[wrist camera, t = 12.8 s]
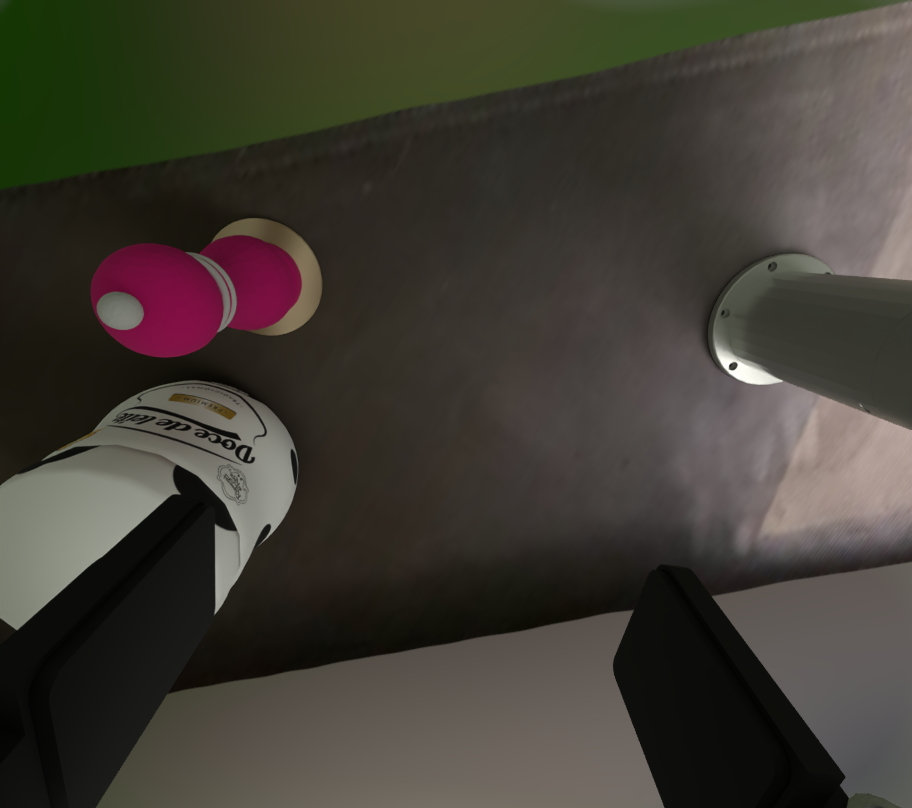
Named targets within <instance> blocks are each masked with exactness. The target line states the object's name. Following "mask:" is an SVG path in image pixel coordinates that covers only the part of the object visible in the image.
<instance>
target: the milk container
mask: <svg viewBox="0 0 912 808" xmlns="http://www.w3.org/2000/svg"><path fill="white" fill-rule="evenodd" d="M297 478H298V459H297V454H296V450H295V447H294V444H293V441H292V439H291V437H290V435H289V433H288V431H287V429H286V428H285V426H284V425H283V424H282V422H281V421H280V420H279V419H278V417H277V416H276V415H275V414H274V413H273V412H272V411H271V410H270V409H269V408H268V407H267V406H266V405H264V404H263V403H262V402H260V401H259V400H257V399H256V398H254V397H252V396H251V395H249V394H247V393H245V392H244V391H242V390H239V389H237V388H234V387H231V386H228V385H225V384H221V383H217V382H211V381H201V380H190V381H181V382H175V383H169V384H165V385H161V386H157V387H154V388H151V389H148V390H146V391H143V392H141V393H139V394H137V395H135V396H133V397H131V398H129V399H127V400H126V401H124V402H123V403H121V404H120V405H118V406H117V407H116V408H115V409H113V410H112V411H111V412H110V413H109V414H108V415H107V416H106V417H105V418H104V419H103V420H102V421H101V422H100V423H99V425H98V426H97V427H96V428H95V429H94V431H93V432H92V433H90V434H88V435H86V436H84V437H82V438H80V439H78V440H76V441H74V442H72V443H70V444H68V445H66V446H64V447H62V448H60V449H58V450H56V451H55V452H53V453H52V454H50V455H48V456H47V457H46V458H45V459H43V460H42V461H40V462H38V463H35V464H33V465H31V466H29V467H27V468H25V469H23V470H22V471H20V472H19V473H17V474H16V475H14V476H13V477H12V478H10V479H9V480H7V481H6V482H4V483H3V484H2V485H1V486H0V618H1V619H3V620H4V621H5V622H7V623H8V624H9V625H11V626H12V627H13V628H15V629H16V630H18V629H19V628H20V627H21V626H22V625H24V624H25V623H26V622H27V621H28V620H29V619H30V618H31V617H33V616H34V615H35V614H36V613H37V612H38V611H39V610H40V609H42V608H43V607H44V606H45V605H46V604H47V603H48V602H49V601H50V600H52V599H53V598H54V597H55V596H56V595H57V594H58V593H59V592H61V591H62V590H63V589H64V588H65V587H66V586H67V585H68V584H70V583H71V582H72V581H73V580H74V579H75V578H76V577H77V576H79V575H80V574H81V573H82V572H83V571H84V570H85V569H86V568H88V567H89V566H90V565H91V564H92V563H94V562H95V561H96V560H98V559H99V558H101V557H102V556H104V555H105V554H106V553H107V552H108V551H109V550H110V549H111V548H113V547H114V546H115V545H116V544H117V543H118V542H119V541H120V540H121V539H123V538H124V537H125V536H126V535H127V534H128V533H129V532H130V531H131V530H133V529H134V528H135V527H136V526H137V525H138V524H139V523H140V522H141V521H143V520H144V519H145V518H146V517H147V516H148V515H149V514H150V513H152V512H153V511H154V510H155V509H156V508H157V507H158V506H159V505H160V504H162V503H163V502H164V501H165V500H166V499H167V498H168V497H170V496H171V495H173V494H180V495H187V496H194V497H201V498H204V499H206V501H207V505H208V506H211V507H213V508H214V510H215V593H216V607H215V614H216V612H217V611H218V610H219V608H220V607H221V606H222V604H223V602H224V600H225V599H226V597H227V594H228V592H229V590H230V588H231V587H232V586H233V585H234V583H235V582H236V580H237V579H238V577H239V575H240V573H241V572H242V570H243V568H244V566H245V564H246V562H247V560H248V558H249V556H250V555H251V553H252V551H253V550H254V549H255V548H256V547H257V546H259V545H260V544H261V543H262V542H263V541H265V540H266V539H267V538H268V537H269V536H270V535H271V534H272V533H273V532H274V530H275V529H276V528H277V527H278V525H279V524H280V523H281V521H282V520H283V518H284V517H285V515H286V513H287V511H288V509H289V507H290V505H291V502H292V499H293V496H294V493H295V489H296V484H297ZM215 614H214V615H215Z"/></svg>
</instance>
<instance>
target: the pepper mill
mask: <svg viewBox="0 0 912 808" xmlns="http://www.w3.org/2000/svg"><path fill="white" fill-rule="evenodd" d="M301 289H302V278H301V274H300V271H299V268H298V266H297V264H296V263H295V261H294V259H293V258H292V257H291V256H290V255H289V254H288V253H287V252H286V251H284V250H283V249H282V248H280V247H278V246H276V245H274V244H271V243H267V242H265V241H263V240H261V239H258V238H255V237H252V236H247V235H233V236H227V237H223V238H220V239H217V240H215V241H213V242H212V243H210V244H209V245H208V246H206V247H205V248H204V249H203V250H202V251H201V252H200V253H199V254H196V253H190V252H183V251H182V250H180V249H177V248H174V247H171V246H167V245H161V244H152V243H146V244H136V245H132V246H128V247H125V248H122V249H120V250H118V251H116V252H114V253H112V254H111V255H110V256H109V257H107V258H106V259H105V260H103V262H102V263H101V265H100V266H99V268H98V269H97V271H96V272H95V274H94V276H93V279H92V282H91V301H92V305H93V308H94V311H95V314H96V316H97V318H98V320H99V322H100V323H101V324H102V326H103V327H104V328H105V330H106V331H107V332H108V333H109V334H110V335H111V336H112V337H113V338H114V339H115V340H117V341H118V342H119V343H121V344H122V345H124V346H125V347H127V348H129V349H131V350H133V351H135V352H138V353H141V354H144V355H148V356H154V357H164V358H167V357H177V356H182V355H186V354H189V353H192V352H194V351H197V350H199V349H200V348H202V347H203V346H205V345H206V344H207V343H208V342H209V341H210V340H212V339H213V338H214V336H215V335H216V333H217V332H219V331H221V330H222V329H224V328H225V327H226V326H227V327H230V328H234V329H240V330H258V329H262V328H266V327H269V326H271V325H274V324H275V323H277V322H279V321H280V320H281V319H282V318H283V317H284V316H285V315H286V314H287V312H288V311H289V310H290V309H291V308H292V307H293V306H294V305H295V304H296V302H297V301H298V299H299V297H300V294H301Z"/></svg>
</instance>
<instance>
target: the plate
mask: <svg viewBox="0 0 912 808" xmlns="http://www.w3.org/2000/svg"><path fill="white" fill-rule="evenodd" d="M233 235H247V236H252V237H255V238H258V239H261V240H263V241H265V242H267V243H271V244H274V245H276V246H278V247H280V248H282V249H283V250H284V251H286V252H287V253H288V254H289V255H290V256H291V257H292V258H293V259H294V261H295V263H296V264H297V266H298V268H299V271H300V274H301V278H302V289H301V294H300V297H299V299H298V301H297V302H296V304H295V305H294V306H293V307H292V308H291V309H290V310H289V311H288V312H287V314H286V315H285V316H284V317H283V318H282V319H281V320H280V321H279V322H277V323H275V324H274V325H271V326H269V327H266V328H262V329H258V330H247V331H250V332H253V333H256V334H261V335H281V334H285V333H288V332H291V331H293V330H295V329H297V328H299V327H300V326H302V325H303V324H305V323H306V322H307V321H308V320H309V319H310V318H311V317H312V315H313V314H314V313H315V311H316V309H317V307H318V305H319V303H320V299H321V296H322V273H321V269H320V266H319V263H318V261H317V258H316V256H315V254H314V253H313V251H312V249H311V248H310V246H309V245H308V244H307V243H306V242H305V240H304V239H303V238H302V237H301V236H299V235H298V234H297V233H296V232H295V231H293V230H292V229H290V228H289V227H287V226H285V225H283V224H280V223H278V222H275V221H271V220H267V219H259V218H249V219H243V220H239V221H236V222H233V223H231V224H229V225H228V226H226V227H225V228H223V229H222V230H221V231H220V232H219V233H218V234H217V235H216V236H215V238H214V239H213V240H212V242H213V241H215V240H217V239H220V238H223V237H227V236H233ZM212 242H211V243H212Z"/></svg>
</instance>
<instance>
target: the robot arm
mask: <svg viewBox="0 0 912 808" xmlns="http://www.w3.org/2000/svg"><path fill="white" fill-rule="evenodd" d="M721 312H722V313H721ZM708 343H709V350H710V352H711V355H712V357H713V360H714V361H715V362H716V364H717V365H718V367H719V368H720V369H721V370H722V371H723V372H724V373H726V374H727V375H728V376H730V377H732V378H734V379H736V380H739V381H741V382H744V383H746V384H752V385H771V384H775V383H780V382H783V381H785V382H788V383H790V384H793V385H796V386H798V387H801V388H803V389H806V390H808V391H811V392H814V393H816V394H819V395H821V396H824V397H826V398H829V399H832V400H834V401H837V402H839V403H842V404H845V405H847V406H850V407H852V408H855V409H857V410H860V411H863V412H865V413H868V414H870V415H873V416H875V417H878V418H881V419H883V420H886V421H888V422H891V423H893V424H897V425H899V426H902V427H904V428H907V429H910V430H912V280H899V279H886V278H872V277H859V276H846V275H836V274H835V273H834V271H833V270H832V269H831V268H830V267H829V266H828V265H827V264H826V263H824V262H822V261H821V260H819V259H818V258H815V257H812V256H809V255H806V254H778V255H773V256H769V257H766V258H763V259H761V260H759V261H756V262H754V263H753V264H751V265H750V266H748V267H746V268H745V269H743V270H742V271H741V272H740V273H739V274H738V275H736V276H735V277H734V278H733V279H732V280H731V281H730V282H729V284H728V285H727V286H726V287H725V288H724V290H723V291H722V293H721V294H720V296H719V298H718V299H717V301H716V303H715V305H714V308H713V310H712V313H711V316H710V320H709V325H708ZM215 607H216V593H215V510H214V508H213V507H211V506H208V505H207V501H206V499H204V498H201V497H194V496H187V495H180V494H173V495H171V496H170V497H168V498H167V499H166V500H165V501H164V502H163V503H162V504H160V505H159V506H158V507H157V508H156V509H155V510H154V511H153V512H152V513H150V514H149V515H148V516H147V517H146V518H145V519H144V520H143V521H141V522H140V523H139V524H138V525H137V526H136V527H135V528H134V529H133V530H131V531H130V532H129V533H128V534H127V535H126V536H125V537H124V538H123V539H121V540H120V541H119V542H118V543H117V544H116V545H115V546H114V547H113V548H111V549H110V550H109V551H108V552H107V553H106V554H105V555H104V556H102V557H101V558H99V559H98V560H96V561H95V562H94V563H92V564H91V565H90V566H89V567H88V568H86V569H85V570H84V571H83V572H82V573H81V574H80V575H79V576H77V577H76V578H75V579H74V580H73V581H72V582H71V583H70V584H68V585H67V586H66V587H65V588H64V589H63V590H62V591H61V592H59V593H58V594H57V595H56V596H55V597H54V598H53V599H52V600H50V601H49V602H48V603H47V604H46V605H45V606H44V607H43V608H42V609H40V610H39V611H38V612H37V613H36V614H35V615H34V616H33V617H31V618H30V619H29V620H28V621H27V622H26V623H25V624H24V625H22V626H21V627H20V628H19V629H18V630H17V631H16V632H15V633H13V634H12V635H11V636H10V637H9V638H8V639H7V640H6V641H4V642H3V643H2V644H1V645H0V808H96V806H97V804H98V803H99V801H100V800H101V798H102V797H103V795H104V794H105V792H106V790H107V789H108V787H109V785H110V784H111V782H112V781H113V779H114V778H115V776H116V774H117V773H118V771H119V770H120V768H121V766H122V765H123V763H124V762H125V760H126V758H127V757H128V755H129V754H130V752H131V751H132V749H133V747H134V746H135V744H136V743H137V741H138V739H139V738H140V736H141V735H142V733H143V732H144V730H145V728H146V727H147V725H148V724H149V722H150V720H151V719H152V717H153V716H154V714H155V712H156V711H157V709H158V708H159V706H160V705H161V703H162V701H163V700H164V698H165V696H166V695H167V693H168V692H169V690H170V689H171V687H172V685H173V684H174V682H175V681H176V679H177V677H178V676H179V674H180V673H181V671H182V670H183V668H184V666H185V665H186V663H187V662H188V660H189V658H190V657H191V655H192V654H193V652H194V650H195V649H196V647H197V646H198V644H199V643H200V641H201V639H202V638H203V636H204V635H205V633H206V631H207V630H208V628H209V626H210V625H211V622H212V620H213V617H214V614H215ZM613 671H614V676H615V679H616V681H617V684H618V687H619V689H620V692H621V695H622V697H623V700H624V703H625V705H626V708H627V710H628V713H629V716H630V718H631V721H632V724H633V726H634V728H635V731H636V734H637V737H638V739H639V742H640V744H641V747H642V750H643V752H644V755H645V758H646V760H647V763H648V765H649V768H650V771H651V773H652V776H653V778H654V781H655V784H656V786H657V789H658V792H659V794H660V797H661V800H662V802H663V805H664V807H665V808H901V807H899V806H897V805H895V804H893V803H892V802H890V801H888V800H886V799H884V798H881V797H878V796H875V795H872V794H869V793H856V794H854V795H853V796H852V797H850V798H848V796H847V795H846V794H845V792H844V791H843V789H842V788H841V787H840V784H841V783H842V781H843V780H844V779H845V775H844V774H843V773H842V771H841V770H840V769H839V767H838V766H837V765H836V763H835V762H834V761H833V759H832V758H831V757H830V755H829V754H828V752H827V751H826V750H825V749H824V747H823V746H822V744H821V743H820V742H819V740H818V739H817V738H816V736H815V735H814V734H813V732H812V731H811V730H810V728H809V727H808V726H807V725H806V723H805V721H804V720H803V719H802V717H801V716H800V715H799V713H798V712H797V711H796V709H795V708H794V707H793V706H792V704H791V703H790V701H789V700H788V699H787V697H786V696H785V695H784V693H783V692H782V691H781V689H780V688H779V687H778V685H777V684H776V683H775V681H774V680H773V679H772V677H771V676H770V674H769V673H768V672H767V670H766V669H765V668H764V666H763V665H762V664H761V662H760V661H759V660H758V658H757V657H756V656H755V654H754V653H753V652H752V650H751V649H750V648H749V646H748V645H747V644H746V642H745V641H744V639H743V638H742V637H741V636H740V634H739V633H738V632H737V630H736V629H735V627H734V626H733V625H732V623H731V622H730V621H729V619H728V618H727V617H726V615H725V614H724V613H723V611H722V610H721V609H720V607H719V606H718V605H717V603H716V602H715V601H714V599H713V598H712V596H711V595H710V594H709V592H708V591H707V590H706V588H705V587H704V586H703V584H702V583H701V582H700V580H699V579H698V578H697V576H696V575H695V574H694V572H693V571H692V570H691V569H688V568H685V567H678V566H671V565H660V566H659V567H657V569H656V570H652V571H651V572H650V573H649V575H648V577H647V580H646V582H645V584H644V587H643V589H642V592H641V594H640V597H639V599H638V601H637V604H636V606H635V609H634V611H633V614H632V616H631V618H630V621H629V623H628V626H627V628H626V630H625V633H624V635H623V638H622V640H621V643H620V645H619V647H618V650H617V652H616V655H615V657H614V662H613Z"/></svg>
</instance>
